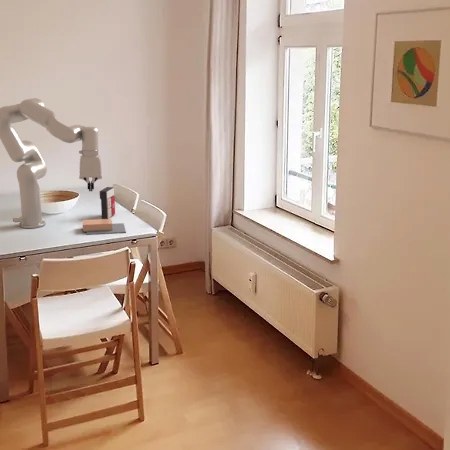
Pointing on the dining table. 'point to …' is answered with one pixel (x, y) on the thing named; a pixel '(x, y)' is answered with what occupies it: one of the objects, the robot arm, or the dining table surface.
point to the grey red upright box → (107, 202)
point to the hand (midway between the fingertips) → (90, 190)
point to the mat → (115, 229)
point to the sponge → (97, 225)
